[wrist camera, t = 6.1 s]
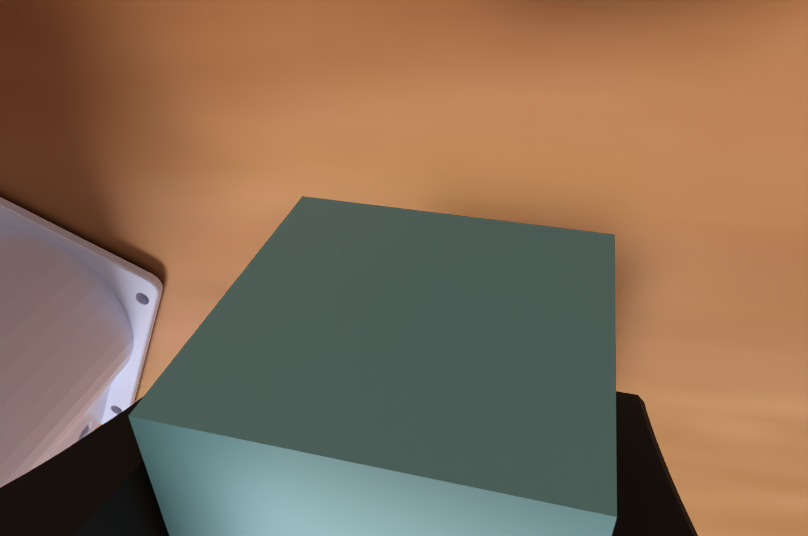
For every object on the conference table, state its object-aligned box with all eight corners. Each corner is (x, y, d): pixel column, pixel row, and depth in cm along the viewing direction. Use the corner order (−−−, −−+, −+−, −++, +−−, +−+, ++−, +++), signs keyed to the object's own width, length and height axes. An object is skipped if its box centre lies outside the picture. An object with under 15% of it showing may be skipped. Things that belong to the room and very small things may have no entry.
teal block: (568, 455, 13) (550, 747, 9) (324, 408, 14) (209, 650, 10) (614, 234, 10) (616, 516, 6) (302, 196, 11) (127, 415, 7)
